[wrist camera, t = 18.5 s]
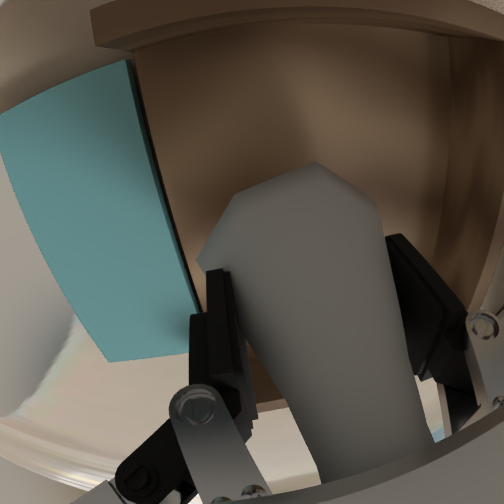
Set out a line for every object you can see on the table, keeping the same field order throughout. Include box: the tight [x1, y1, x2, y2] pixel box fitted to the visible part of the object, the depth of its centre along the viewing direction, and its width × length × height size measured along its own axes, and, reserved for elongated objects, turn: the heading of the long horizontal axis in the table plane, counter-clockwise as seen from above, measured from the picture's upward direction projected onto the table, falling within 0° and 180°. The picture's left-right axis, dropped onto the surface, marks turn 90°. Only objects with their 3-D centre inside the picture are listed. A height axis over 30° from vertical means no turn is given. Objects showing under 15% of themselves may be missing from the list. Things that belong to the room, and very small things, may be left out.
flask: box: [196, 161, 435, 484], centre depth 8 cm, size 7×7×10 cm
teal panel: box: [0, 59, 201, 362], centre depth 15 cm, size 17×1×8 cm
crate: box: [90, 0, 504, 413], centre depth 14 cm, size 20×16×6 cm
